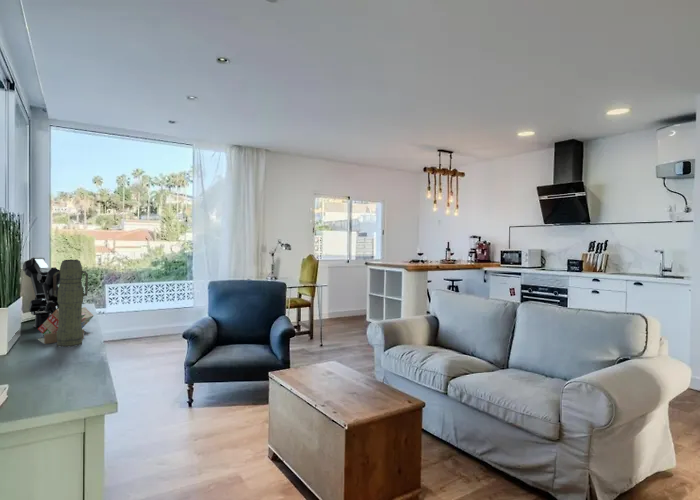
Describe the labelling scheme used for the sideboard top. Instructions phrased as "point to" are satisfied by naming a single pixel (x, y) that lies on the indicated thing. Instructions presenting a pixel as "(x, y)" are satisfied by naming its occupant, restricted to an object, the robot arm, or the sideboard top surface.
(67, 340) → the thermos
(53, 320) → the stack of blocks
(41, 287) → the robot arm
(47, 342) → the dock pad
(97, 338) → the sideboard top surface
